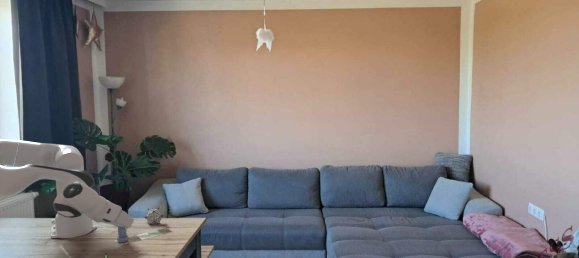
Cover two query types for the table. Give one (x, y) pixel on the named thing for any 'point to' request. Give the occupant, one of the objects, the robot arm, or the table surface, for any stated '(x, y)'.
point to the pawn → (122, 235)
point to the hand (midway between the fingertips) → (123, 226)
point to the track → (145, 236)
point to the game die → (154, 216)
